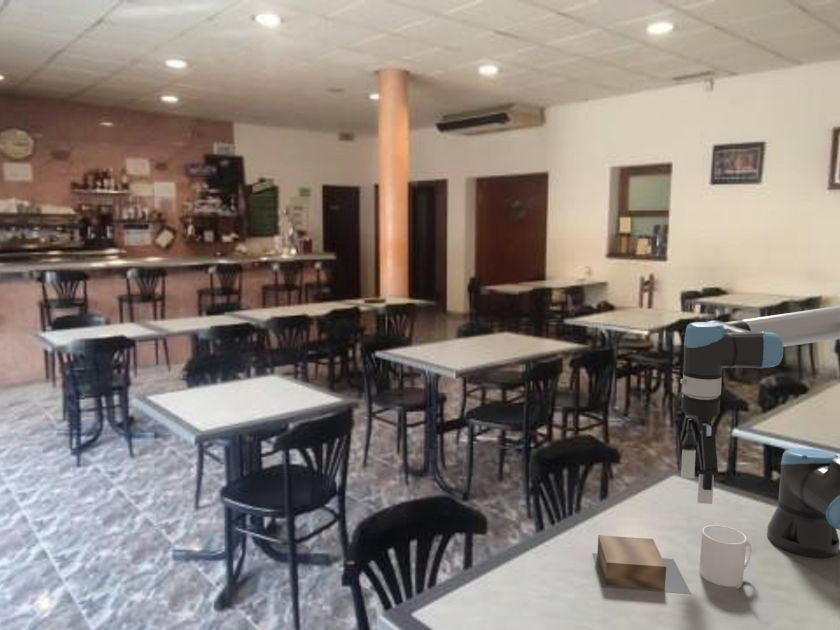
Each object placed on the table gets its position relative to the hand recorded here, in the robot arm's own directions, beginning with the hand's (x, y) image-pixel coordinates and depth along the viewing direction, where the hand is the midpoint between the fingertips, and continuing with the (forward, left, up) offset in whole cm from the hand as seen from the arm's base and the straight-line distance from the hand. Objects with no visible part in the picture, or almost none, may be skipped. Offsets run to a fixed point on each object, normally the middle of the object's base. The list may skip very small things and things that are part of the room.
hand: (695, 489), depth 140 cm
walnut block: (+14, +4, -18) cm, 23 cm away
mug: (-7, +2, -19) cm, 21 cm away
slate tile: (+12, +4, -19) cm, 23 cm away
